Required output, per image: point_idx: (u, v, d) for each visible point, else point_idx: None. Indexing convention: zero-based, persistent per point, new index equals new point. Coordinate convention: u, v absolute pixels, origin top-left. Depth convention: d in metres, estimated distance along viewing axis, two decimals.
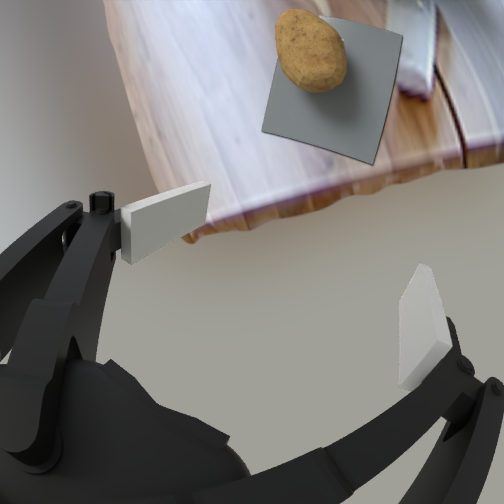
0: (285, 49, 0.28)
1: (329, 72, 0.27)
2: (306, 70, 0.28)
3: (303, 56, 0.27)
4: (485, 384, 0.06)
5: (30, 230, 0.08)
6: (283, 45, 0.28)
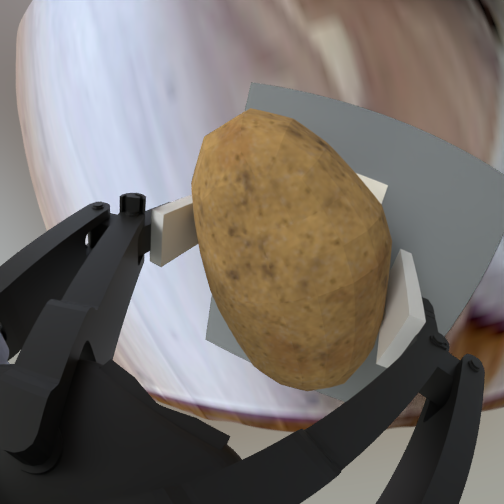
0: (215, 287, 0.12)
1: (326, 384, 0.11)
2: (267, 368, 0.12)
3: (261, 337, 0.11)
4: (461, 362, 0.07)
5: (52, 230, 0.09)
6: (210, 271, 0.12)
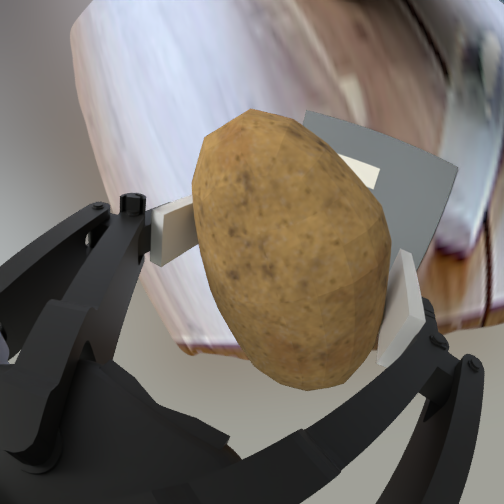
0: (215, 287, 0.12)
1: (326, 384, 0.11)
2: (267, 367, 0.12)
3: (261, 337, 0.11)
4: (461, 361, 0.07)
5: (52, 230, 0.09)
6: (211, 272, 0.12)
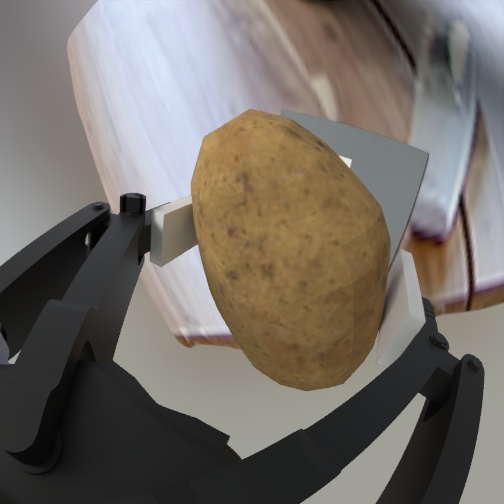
0: (215, 287, 0.12)
1: (325, 384, 0.11)
2: (267, 368, 0.12)
3: (260, 337, 0.11)
4: (461, 361, 0.07)
5: (52, 230, 0.09)
6: (210, 272, 0.12)
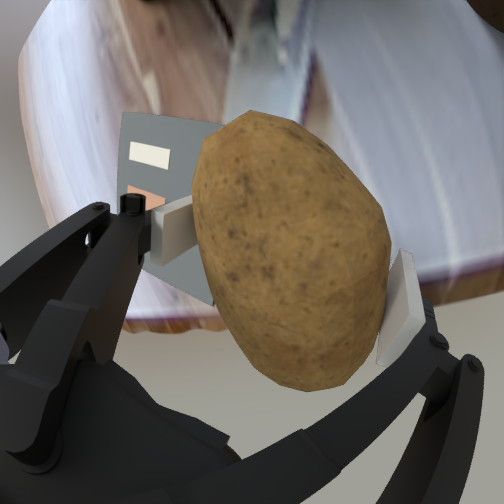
0: (215, 289, 0.12)
1: (325, 385, 0.11)
2: (267, 369, 0.12)
3: (260, 339, 0.11)
4: (461, 361, 0.07)
5: (52, 229, 0.09)
6: (210, 273, 0.12)
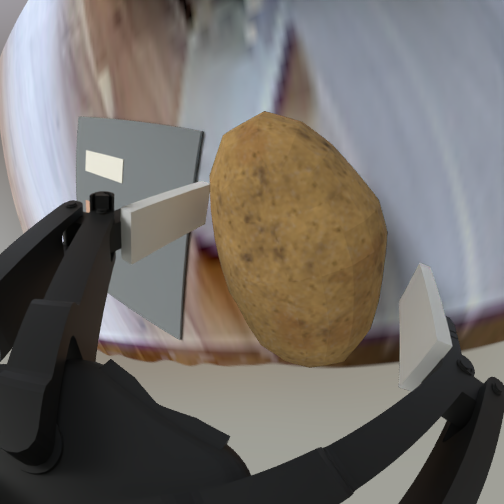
0: (229, 270, 0.14)
1: (327, 360, 0.13)
2: (274, 344, 0.14)
3: (270, 315, 0.13)
4: (485, 384, 0.06)
5: (30, 230, 0.08)
6: (225, 256, 0.14)
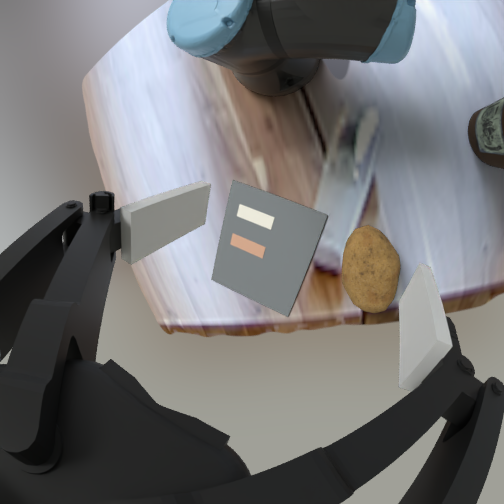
0: (352, 277, 0.39)
1: (381, 308, 0.38)
2: (364, 303, 0.39)
3: (365, 292, 0.38)
4: (485, 384, 0.06)
5: (30, 230, 0.08)
6: (351, 272, 0.39)
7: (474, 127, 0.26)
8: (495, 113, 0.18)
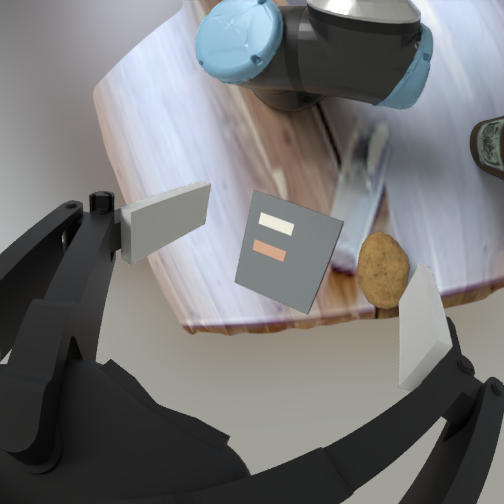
0: (367, 278, 0.43)
1: (393, 304, 0.42)
2: (378, 300, 0.43)
3: (379, 291, 0.42)
4: (485, 384, 0.06)
5: (30, 230, 0.08)
6: (366, 274, 0.43)
7: (475, 141, 0.29)
8: (495, 133, 0.22)
